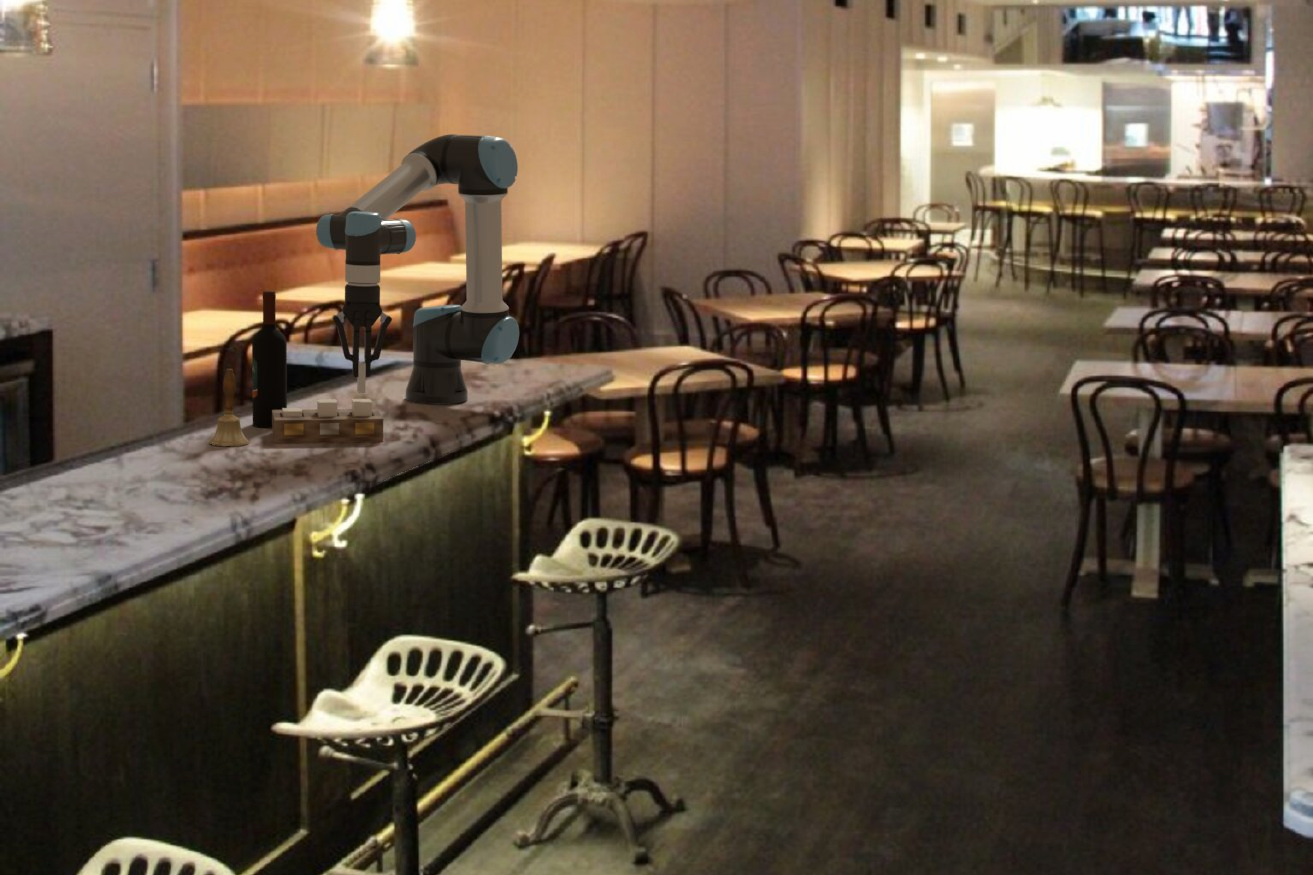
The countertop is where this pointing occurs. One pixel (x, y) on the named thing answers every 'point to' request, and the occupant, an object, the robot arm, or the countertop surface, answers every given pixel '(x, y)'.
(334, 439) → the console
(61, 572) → the countertop surface
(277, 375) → the wine bottle
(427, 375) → the robot arm
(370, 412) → the inner button
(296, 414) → the outer button
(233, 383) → the hand bell
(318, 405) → the middle button
